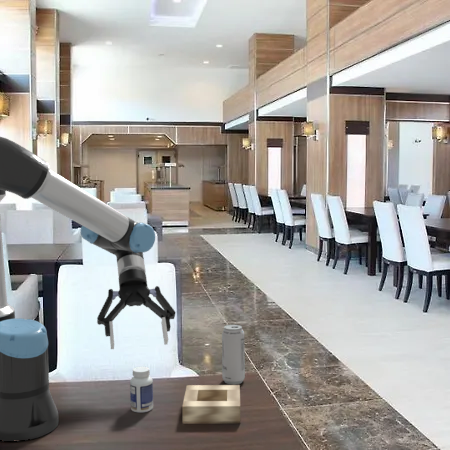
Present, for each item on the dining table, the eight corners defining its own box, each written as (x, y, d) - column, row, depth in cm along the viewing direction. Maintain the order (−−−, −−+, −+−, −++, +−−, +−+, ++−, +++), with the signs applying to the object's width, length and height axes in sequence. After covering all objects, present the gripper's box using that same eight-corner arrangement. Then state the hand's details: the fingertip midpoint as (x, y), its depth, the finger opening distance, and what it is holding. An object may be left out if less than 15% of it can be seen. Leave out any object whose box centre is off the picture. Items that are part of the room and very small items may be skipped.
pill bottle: (155, 404, 142) (154, 365, 142) (150, 413, 137) (149, 373, 136) (133, 403, 143) (132, 365, 142) (128, 412, 138) (127, 372, 137)
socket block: (182, 423, 131) (182, 406, 131) (187, 400, 144) (186, 385, 144) (240, 423, 131) (240, 406, 131) (239, 400, 144) (239, 385, 144)
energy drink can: (222, 377, 161) (222, 323, 159) (244, 377, 161) (244, 323, 159) (221, 385, 155) (221, 329, 153) (244, 385, 155) (244, 329, 153)
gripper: (175, 280, 167) (186, 347, 154) (85, 285, 161) (89, 355, 148) (178, 265, 161) (189, 332, 148) (85, 270, 155) (89, 341, 142)
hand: (139, 344), depth 148 cm, fingers open, 13 cm apart
